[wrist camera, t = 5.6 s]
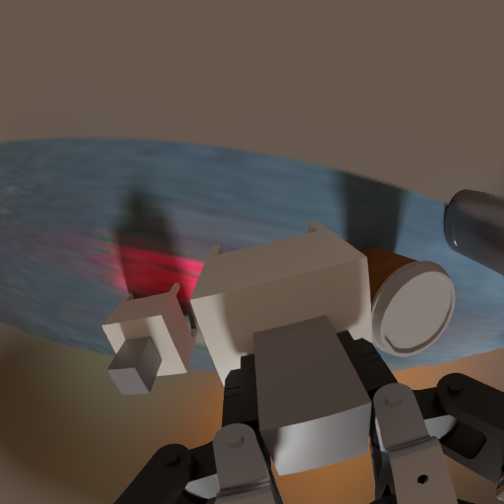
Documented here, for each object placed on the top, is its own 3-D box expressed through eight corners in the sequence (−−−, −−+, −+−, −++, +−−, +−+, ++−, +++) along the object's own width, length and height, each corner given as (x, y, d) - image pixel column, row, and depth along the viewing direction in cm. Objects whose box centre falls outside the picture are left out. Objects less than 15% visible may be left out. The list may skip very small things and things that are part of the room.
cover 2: (316, 220, 18) (443, 317, 5) (331, 313, 20) (409, 456, 7) (211, 246, 18) (156, 390, 6) (238, 335, 20) (237, 499, 8)
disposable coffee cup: (329, 243, 31) (373, 282, 19) (399, 226, 31) (462, 254, 19) (337, 314, 34) (374, 373, 22) (401, 295, 33) (452, 341, 22)
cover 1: (178, 282, 32) (145, 345, 19) (197, 332, 34) (178, 406, 21) (128, 293, 32) (79, 352, 19) (148, 340, 34) (115, 409, 21)
